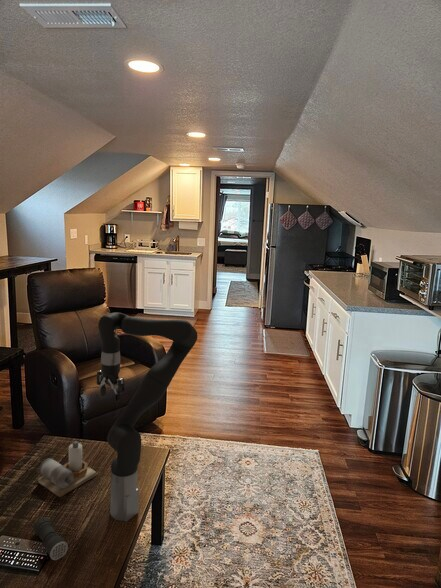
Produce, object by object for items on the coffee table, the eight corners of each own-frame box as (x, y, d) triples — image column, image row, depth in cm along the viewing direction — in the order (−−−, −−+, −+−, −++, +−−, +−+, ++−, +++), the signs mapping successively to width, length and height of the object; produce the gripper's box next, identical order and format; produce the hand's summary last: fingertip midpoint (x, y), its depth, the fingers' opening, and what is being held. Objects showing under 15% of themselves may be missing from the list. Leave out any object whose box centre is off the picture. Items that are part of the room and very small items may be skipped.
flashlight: (31, 534, 136) (31, 520, 135) (48, 526, 140) (47, 512, 138) (50, 563, 125) (50, 548, 124) (67, 554, 129) (67, 539, 128)
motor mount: (98, 476, 167) (98, 457, 165) (61, 498, 153) (61, 478, 151) (74, 462, 175) (74, 444, 173) (38, 482, 161) (37, 463, 159)
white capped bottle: (84, 470, 168) (85, 442, 165) (74, 476, 163) (74, 447, 161) (76, 465, 170) (76, 437, 168) (65, 471, 166) (65, 443, 163)
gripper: (129, 363, 166) (129, 400, 169) (106, 354, 173) (105, 390, 176) (115, 368, 160) (115, 406, 163) (91, 359, 167) (91, 396, 170)
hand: (110, 398), depth 170 cm, fingers open, 8 cm apart
